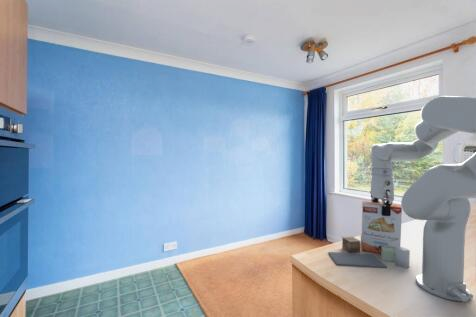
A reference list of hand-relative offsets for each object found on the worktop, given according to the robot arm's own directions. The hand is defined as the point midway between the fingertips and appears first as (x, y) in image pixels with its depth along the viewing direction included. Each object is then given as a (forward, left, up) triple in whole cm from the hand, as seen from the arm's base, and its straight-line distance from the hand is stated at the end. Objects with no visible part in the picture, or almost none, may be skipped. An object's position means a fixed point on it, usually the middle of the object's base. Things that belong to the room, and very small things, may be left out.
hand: (380, 212), depth 95 cm
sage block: (-7, 0, -17) cm, 18 cm away
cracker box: (0, 0, -17) cm, 17 cm away
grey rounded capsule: (-11, -2, -17) cm, 21 cm away
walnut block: (0, +12, -17) cm, 21 cm away
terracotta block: (+7, +2, -17) cm, 19 cm away
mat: (-10, +14, -17) cm, 24 cm away
